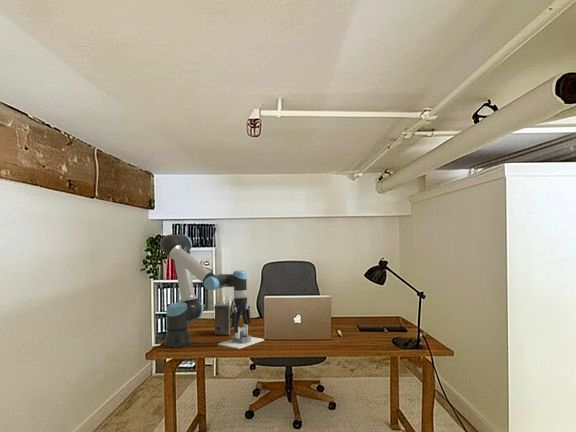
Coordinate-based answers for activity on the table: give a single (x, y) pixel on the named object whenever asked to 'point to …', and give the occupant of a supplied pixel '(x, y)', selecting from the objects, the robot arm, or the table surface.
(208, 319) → the table surface
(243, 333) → the light grey cube
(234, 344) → the barrel stand
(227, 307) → the vintage camera
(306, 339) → the table surface
